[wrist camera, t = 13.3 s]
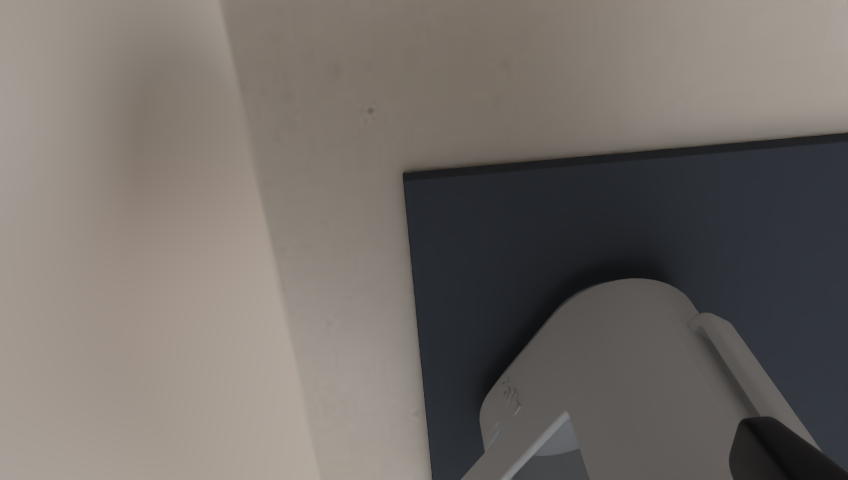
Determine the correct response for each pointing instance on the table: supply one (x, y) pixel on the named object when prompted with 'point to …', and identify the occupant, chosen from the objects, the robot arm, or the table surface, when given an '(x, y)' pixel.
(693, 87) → the table surface
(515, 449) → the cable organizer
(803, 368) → the mat
